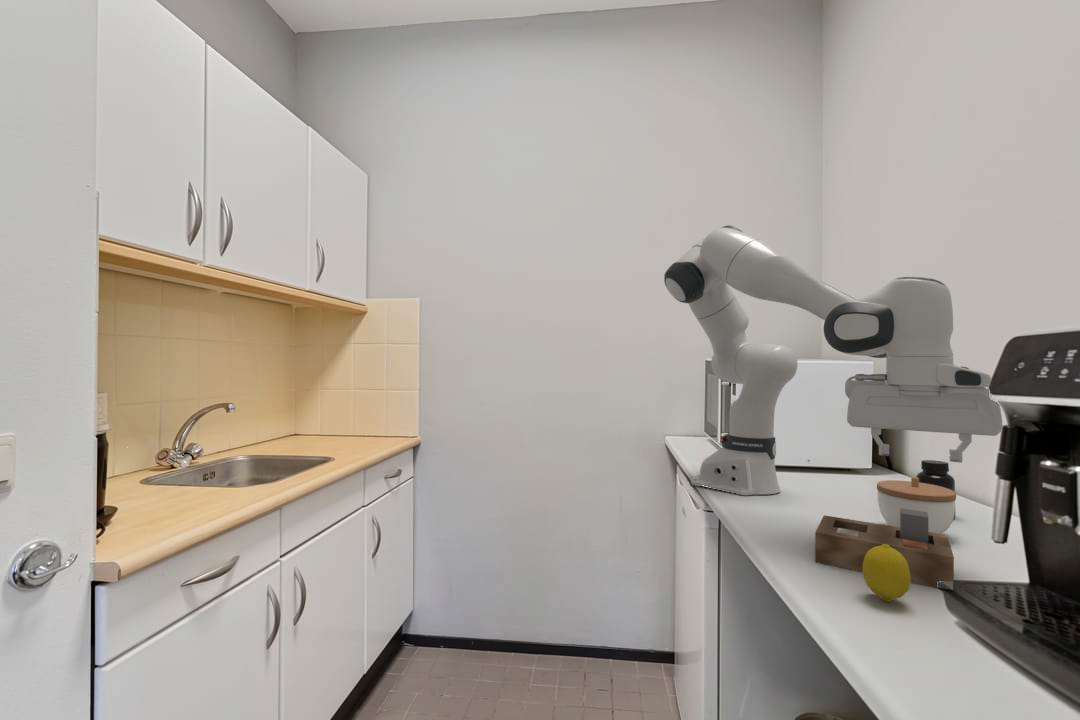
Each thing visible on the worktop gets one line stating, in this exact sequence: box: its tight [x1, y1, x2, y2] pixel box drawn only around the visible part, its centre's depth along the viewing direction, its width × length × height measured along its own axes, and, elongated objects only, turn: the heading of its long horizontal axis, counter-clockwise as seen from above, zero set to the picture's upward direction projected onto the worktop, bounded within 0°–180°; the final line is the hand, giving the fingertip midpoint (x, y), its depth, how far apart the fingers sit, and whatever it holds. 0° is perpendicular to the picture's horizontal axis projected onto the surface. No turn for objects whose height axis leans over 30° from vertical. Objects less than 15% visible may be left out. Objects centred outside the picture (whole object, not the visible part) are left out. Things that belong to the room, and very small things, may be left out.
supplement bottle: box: [916, 459, 956, 519], centre depth 111 cm, size 7×7×12 cm
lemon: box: [862, 544, 911, 603], centre depth 70 cm, size 6×6×8 cm
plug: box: [900, 508, 928, 543], centre depth 82 cm, size 4×4×9 cm
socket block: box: [814, 514, 955, 589], centre depth 83 cm, size 18×12×5 cm, turn 54°
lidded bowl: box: [876, 476, 957, 534], centre depth 99 cm, size 13×13×11 cm
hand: (918, 458), depth 82 cm, fingers open, 8 cm apart
